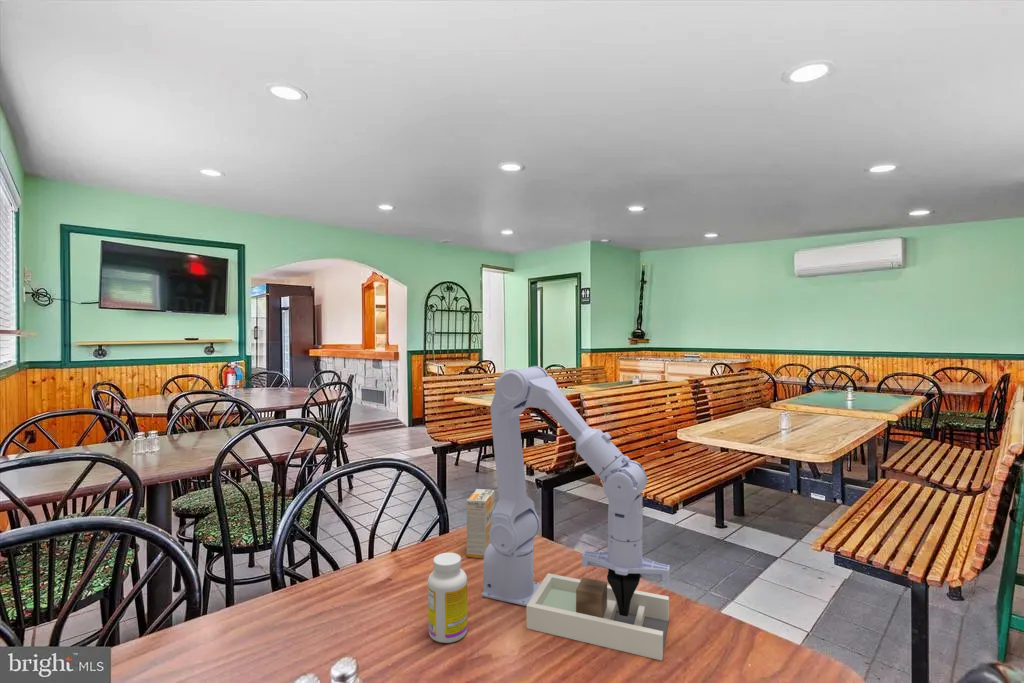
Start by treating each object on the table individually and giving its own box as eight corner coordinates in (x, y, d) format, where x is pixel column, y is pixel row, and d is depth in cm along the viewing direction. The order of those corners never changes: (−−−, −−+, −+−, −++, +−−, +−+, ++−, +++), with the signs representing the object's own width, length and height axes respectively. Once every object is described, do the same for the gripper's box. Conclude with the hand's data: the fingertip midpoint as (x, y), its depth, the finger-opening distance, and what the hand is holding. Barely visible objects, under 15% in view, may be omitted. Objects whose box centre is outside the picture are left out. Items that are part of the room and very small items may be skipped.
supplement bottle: (473, 625, 88) (473, 552, 88) (457, 648, 82) (457, 570, 82) (439, 618, 91) (438, 547, 90) (421, 640, 84) (420, 564, 84)
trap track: (526, 628, 87) (526, 605, 87) (547, 593, 99) (547, 573, 98) (662, 660, 79) (662, 635, 79) (668, 618, 90) (668, 596, 90)
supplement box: (486, 559, 113) (486, 501, 112) (465, 557, 114) (465, 499, 113) (495, 543, 121) (495, 489, 120) (475, 541, 122) (475, 487, 121)
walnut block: (575, 614, 88) (576, 589, 88) (582, 601, 92) (582, 577, 92) (601, 620, 86) (601, 594, 86) (607, 606, 90) (607, 581, 90)
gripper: (577, 537, 85) (577, 616, 86) (667, 552, 80) (666, 635, 81) (587, 521, 92) (586, 595, 93) (671, 534, 87) (669, 612, 87)
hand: (624, 612), depth 87 cm, fingers closed
